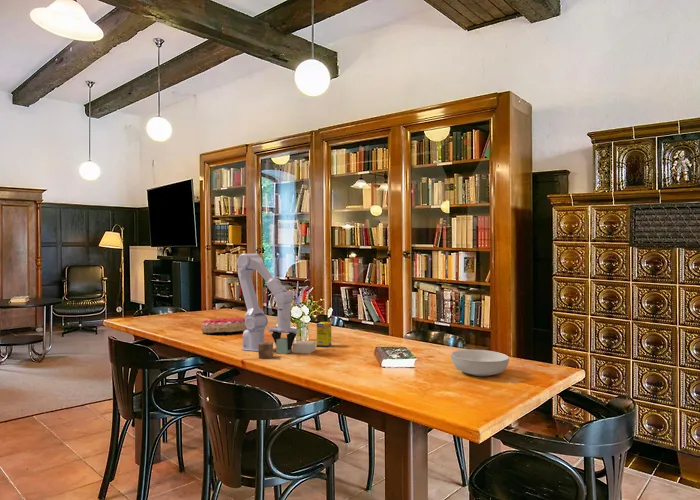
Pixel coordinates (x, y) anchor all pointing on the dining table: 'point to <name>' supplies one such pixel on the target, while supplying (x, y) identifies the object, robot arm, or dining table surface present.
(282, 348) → the green block
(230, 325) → the cake
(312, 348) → the grey block
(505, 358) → the serving bowl
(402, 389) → the dining table surface
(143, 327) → the dining table surface
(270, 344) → the walnut block
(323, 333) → the supplement box
